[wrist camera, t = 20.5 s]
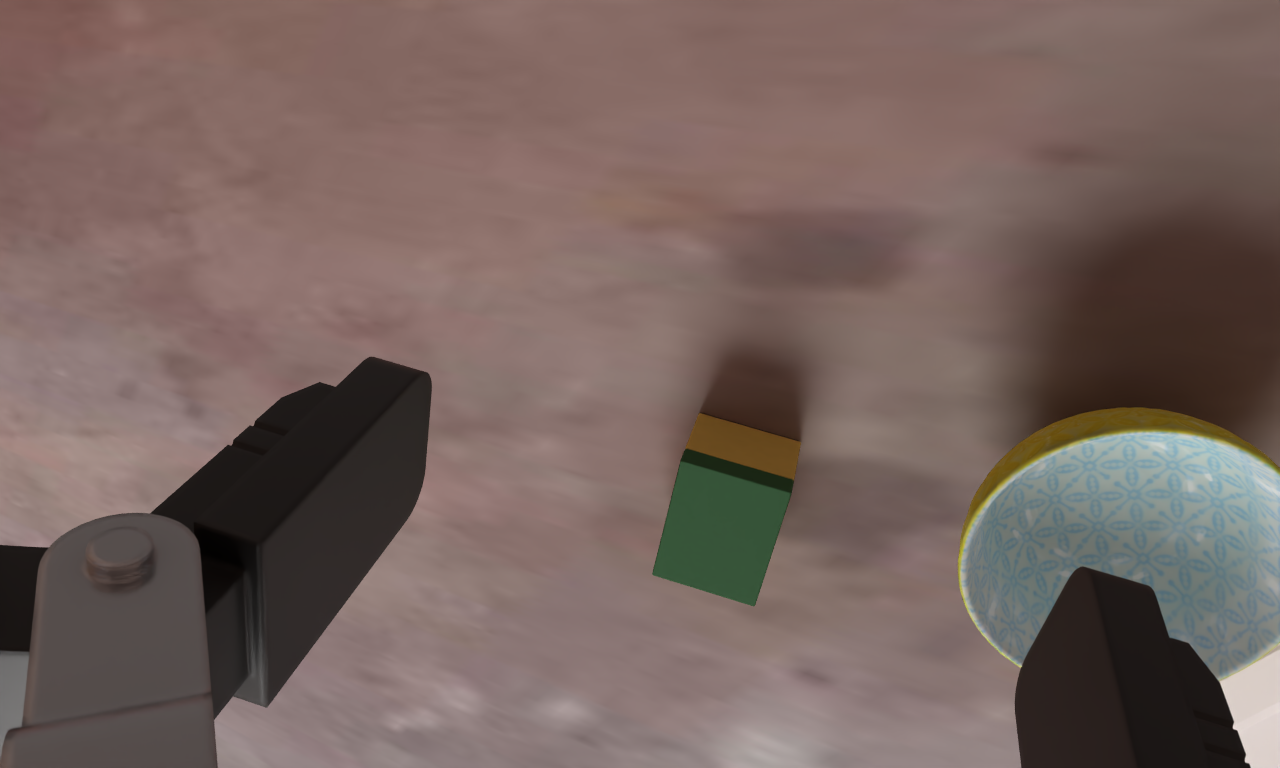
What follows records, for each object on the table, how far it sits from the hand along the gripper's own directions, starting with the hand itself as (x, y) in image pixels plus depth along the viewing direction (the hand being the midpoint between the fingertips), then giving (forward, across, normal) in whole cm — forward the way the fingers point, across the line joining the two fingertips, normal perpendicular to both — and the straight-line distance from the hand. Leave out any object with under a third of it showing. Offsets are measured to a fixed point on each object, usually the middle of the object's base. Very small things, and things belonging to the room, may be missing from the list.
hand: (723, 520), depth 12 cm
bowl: (+26, -14, +13) cm, 32 cm away
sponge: (+26, 0, +18) cm, 31 cm away
